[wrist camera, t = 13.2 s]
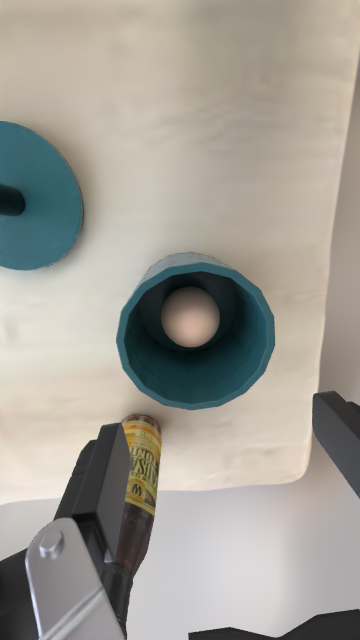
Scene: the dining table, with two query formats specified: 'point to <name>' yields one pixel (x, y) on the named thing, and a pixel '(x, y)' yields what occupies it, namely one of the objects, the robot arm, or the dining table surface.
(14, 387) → the dining table surface
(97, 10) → the dining table surface
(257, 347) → the pot
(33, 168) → the pot lid
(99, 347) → the dining table surface
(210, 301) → the egg
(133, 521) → the sauce bottle
